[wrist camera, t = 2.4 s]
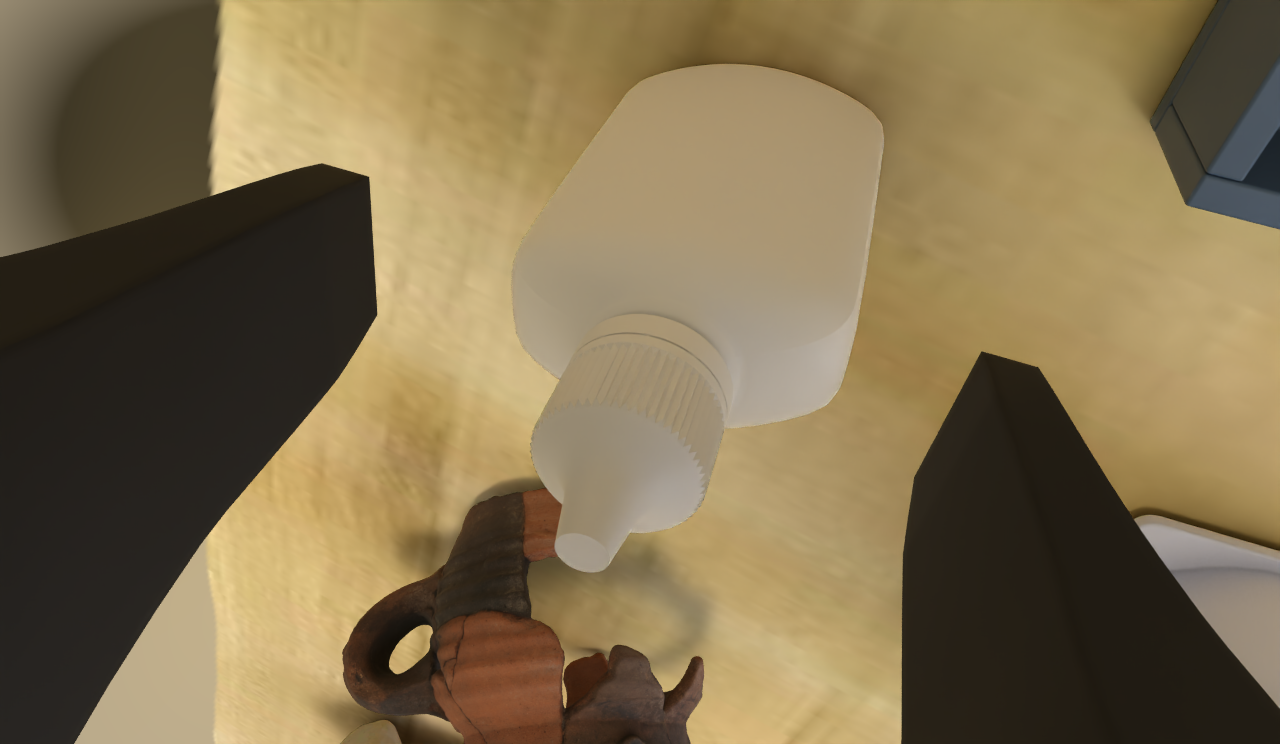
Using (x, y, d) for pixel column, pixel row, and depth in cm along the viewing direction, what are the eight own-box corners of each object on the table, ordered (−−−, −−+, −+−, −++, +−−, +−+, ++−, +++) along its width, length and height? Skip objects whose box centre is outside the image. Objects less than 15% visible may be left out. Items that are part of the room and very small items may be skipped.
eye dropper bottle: (792, 274, 21) (678, 725, 12) (599, 138, 20) (325, 516, 11) (920, 138, 18) (891, 597, 10) (702, -26, 18) (445, 308, 9)
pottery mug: (673, 458, 27) (700, 750, 23) (703, 540, 35) (727, 763, 32) (304, 505, 28) (274, 787, 25) (417, 572, 37) (408, 790, 33)
